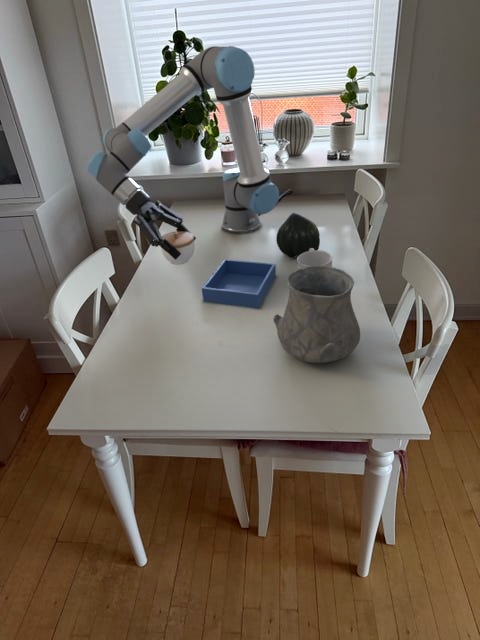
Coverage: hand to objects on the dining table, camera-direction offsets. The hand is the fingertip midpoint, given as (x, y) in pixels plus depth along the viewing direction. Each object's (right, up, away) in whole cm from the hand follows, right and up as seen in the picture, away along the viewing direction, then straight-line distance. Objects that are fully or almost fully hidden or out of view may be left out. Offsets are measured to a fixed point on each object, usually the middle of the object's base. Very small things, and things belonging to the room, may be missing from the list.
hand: (186, 248), depth 141 cm
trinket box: (-2, -3, +3) cm, 5 cm away
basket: (+17, -12, +2) cm, 21 cm away
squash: (+37, +1, +20) cm, 42 cm away
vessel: (+36, -29, -25) cm, 53 cm away
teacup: (+41, -9, +5) cm, 42 cm away
